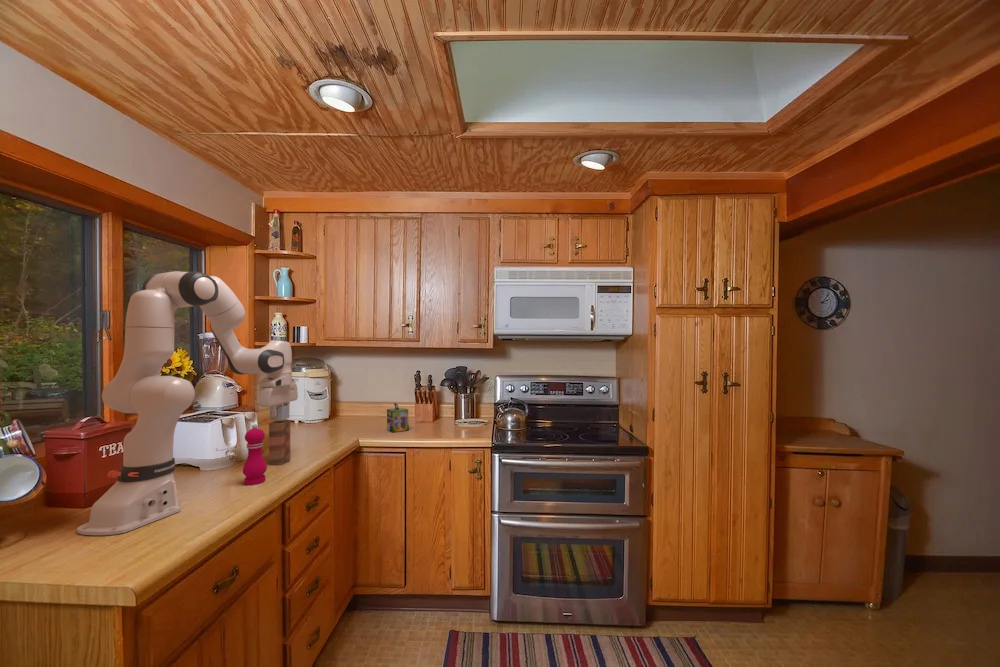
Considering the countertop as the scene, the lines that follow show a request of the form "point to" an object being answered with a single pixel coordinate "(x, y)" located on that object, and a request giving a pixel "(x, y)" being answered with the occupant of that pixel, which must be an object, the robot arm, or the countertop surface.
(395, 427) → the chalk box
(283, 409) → the grey cube
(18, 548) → the countertop surface
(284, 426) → the tower top
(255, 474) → the pepper mill
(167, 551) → the countertop surface
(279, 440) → the tower mid
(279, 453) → the tower base
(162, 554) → the countertop surface
